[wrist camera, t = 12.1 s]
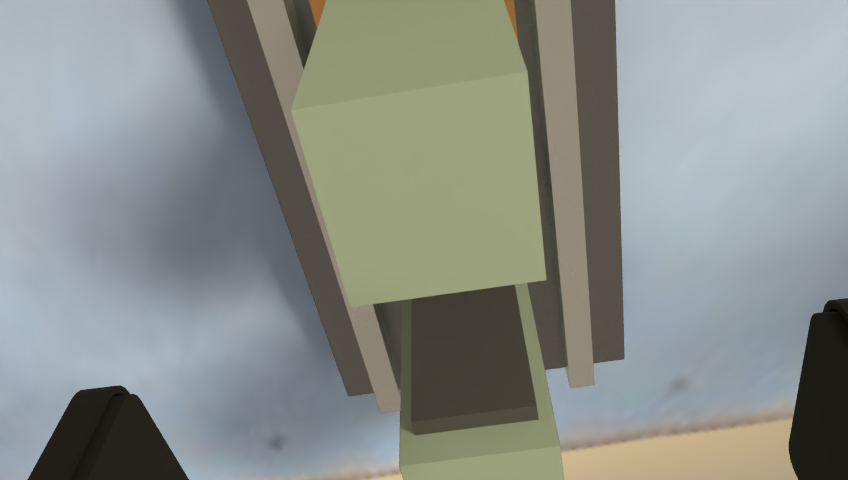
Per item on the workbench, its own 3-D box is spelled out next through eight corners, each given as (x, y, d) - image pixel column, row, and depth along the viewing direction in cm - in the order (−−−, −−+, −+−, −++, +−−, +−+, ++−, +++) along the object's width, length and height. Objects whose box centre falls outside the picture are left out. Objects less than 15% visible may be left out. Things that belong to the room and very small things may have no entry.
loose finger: (486, -51, 20) (527, 71, 13) (506, 124, 24) (548, 300, 16) (334, -24, 21) (290, 110, 14) (373, 145, 24) (356, 326, 17)
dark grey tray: (598, -183, 20) (620, -172, 18) (616, 334, 32) (631, 379, 29) (189, -98, 21) (163, -78, 19) (351, 371, 33) (346, 417, 30)
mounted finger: (518, 238, 27) (558, 432, 19) (532, 345, 30) (571, 547, 22) (400, 256, 27) (394, 452, 20) (426, 360, 30) (430, 562, 23)
